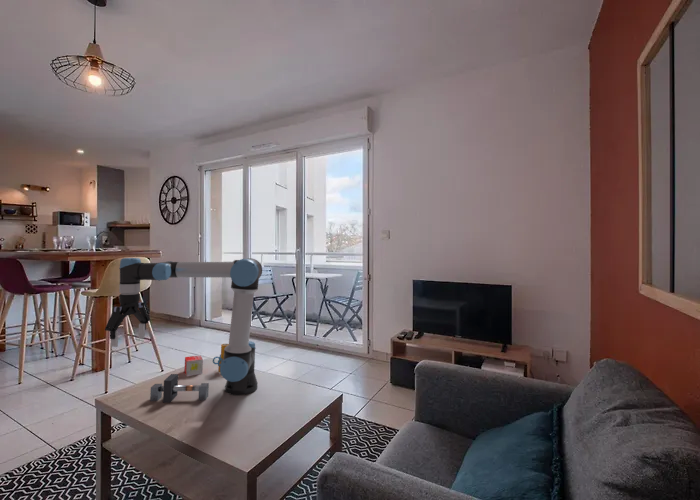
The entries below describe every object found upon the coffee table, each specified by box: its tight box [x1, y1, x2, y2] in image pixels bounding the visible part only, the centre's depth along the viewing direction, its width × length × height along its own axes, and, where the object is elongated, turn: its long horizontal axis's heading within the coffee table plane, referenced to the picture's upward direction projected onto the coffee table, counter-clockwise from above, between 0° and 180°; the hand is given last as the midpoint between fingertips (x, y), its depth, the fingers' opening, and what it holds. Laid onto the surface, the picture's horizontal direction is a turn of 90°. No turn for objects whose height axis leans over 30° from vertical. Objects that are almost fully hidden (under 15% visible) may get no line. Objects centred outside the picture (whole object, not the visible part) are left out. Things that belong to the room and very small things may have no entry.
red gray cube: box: [184, 354, 204, 377], centre depth 180 cm, size 8×8×8 cm
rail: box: [149, 382, 210, 402], centre depth 146 cm, size 23×7×7 cm, turn 97°
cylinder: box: [212, 343, 229, 374], centre depth 183 cm, size 12×10×15 cm
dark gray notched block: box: [162, 373, 179, 404], centre depth 145 cm, size 3×8×10 cm, turn 7°
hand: (128, 342), depth 143 cm, fingers open, 13 cm apart
